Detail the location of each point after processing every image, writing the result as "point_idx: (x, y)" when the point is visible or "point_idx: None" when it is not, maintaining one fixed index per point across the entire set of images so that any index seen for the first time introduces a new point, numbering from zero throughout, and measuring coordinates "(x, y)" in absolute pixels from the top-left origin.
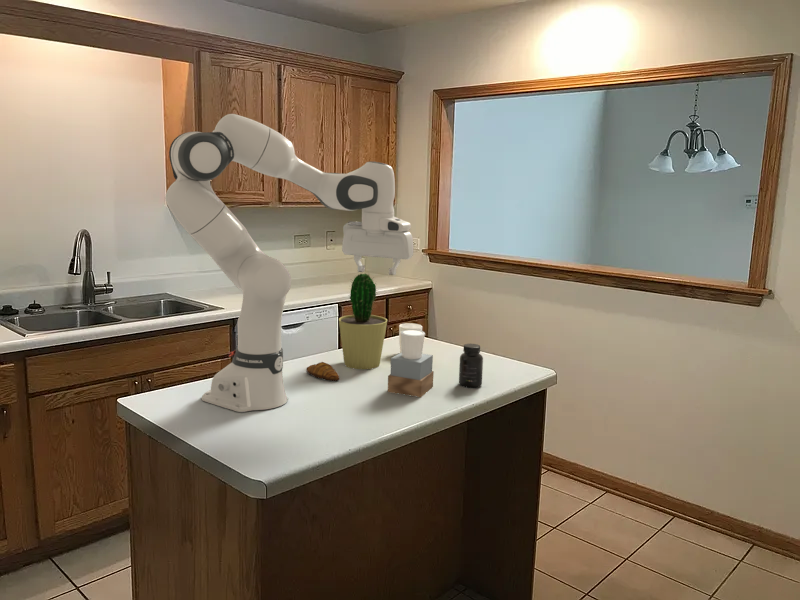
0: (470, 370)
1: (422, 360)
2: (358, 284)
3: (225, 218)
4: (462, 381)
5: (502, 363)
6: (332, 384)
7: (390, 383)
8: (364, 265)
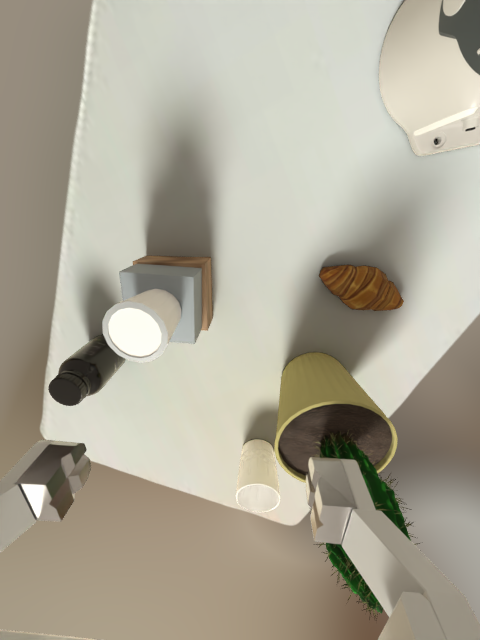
0: (83, 349)
1: (125, 290)
2: None
3: None
4: None
5: (117, 454)
6: (324, 252)
7: (202, 260)
8: (315, 536)
